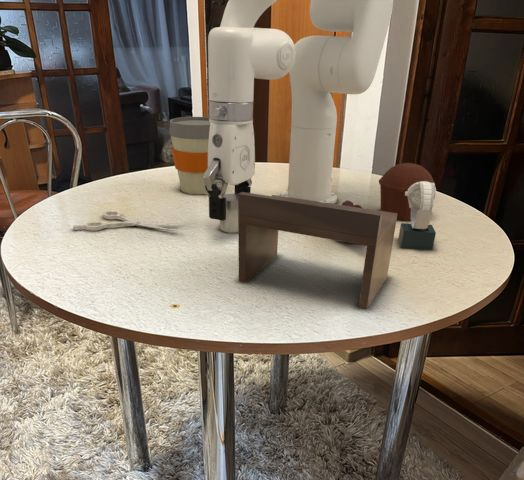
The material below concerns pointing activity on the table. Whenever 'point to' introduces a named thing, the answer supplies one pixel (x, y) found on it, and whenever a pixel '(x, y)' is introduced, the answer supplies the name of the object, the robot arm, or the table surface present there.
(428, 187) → the head sculpture
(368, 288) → the shelf
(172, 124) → the reusable coffee cup
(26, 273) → the table surface
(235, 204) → the grey upright cylinder
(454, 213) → the table surface
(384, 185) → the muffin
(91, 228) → the scissors
